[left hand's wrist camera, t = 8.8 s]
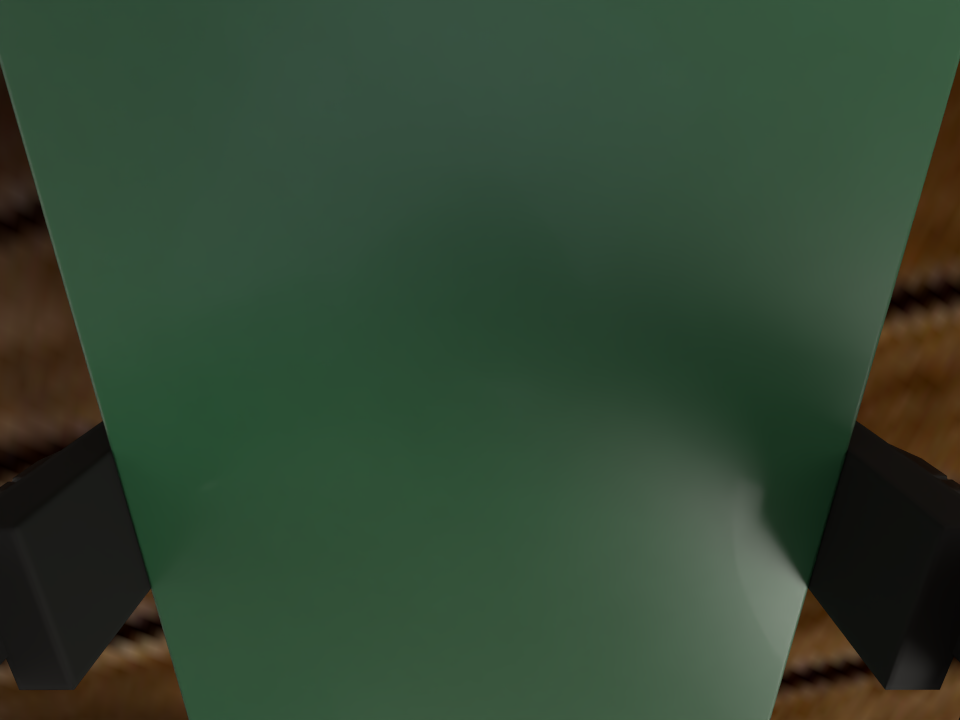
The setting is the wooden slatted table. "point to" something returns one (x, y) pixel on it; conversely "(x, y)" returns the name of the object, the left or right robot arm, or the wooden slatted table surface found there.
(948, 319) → the wooden slatted table surface
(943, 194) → the wooden slatted table surface
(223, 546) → the cabinet
